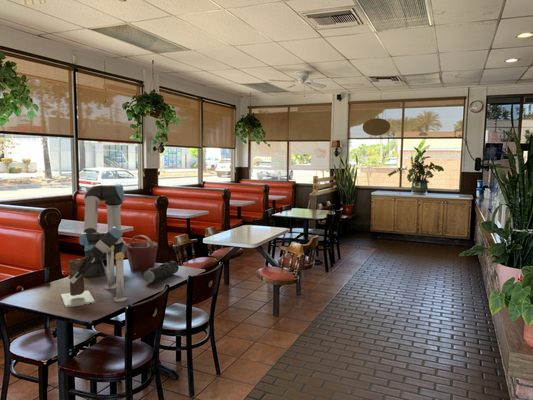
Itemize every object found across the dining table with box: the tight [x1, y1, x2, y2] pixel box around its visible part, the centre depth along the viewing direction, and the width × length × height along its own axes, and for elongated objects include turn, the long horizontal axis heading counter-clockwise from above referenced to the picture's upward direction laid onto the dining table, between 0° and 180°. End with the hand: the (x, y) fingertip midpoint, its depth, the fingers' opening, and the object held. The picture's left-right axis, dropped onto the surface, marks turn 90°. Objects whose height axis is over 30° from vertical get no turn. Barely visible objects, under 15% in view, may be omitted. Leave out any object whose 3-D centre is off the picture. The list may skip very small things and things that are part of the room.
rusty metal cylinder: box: [68, 259, 85, 296], centre depth 241 cm, size 8×7×20 cm
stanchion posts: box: [104, 245, 128, 303], centre depth 252 cm, size 7×33×28 cm, turn 32°
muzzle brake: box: [142, 260, 179, 284], centre depth 284 cm, size 10×28×10 cm, turn 158°
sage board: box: [60, 290, 96, 308], centre depth 242 cm, size 15×22×1 cm
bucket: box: [125, 234, 159, 273], centre depth 309 cm, size 24×22×25 cm
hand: (70, 280), depth 239 cm, fingers closed on rusty metal cylinder, 7 cm apart
